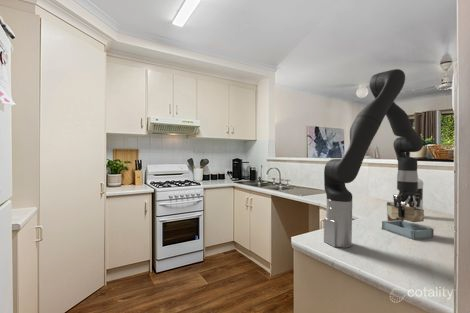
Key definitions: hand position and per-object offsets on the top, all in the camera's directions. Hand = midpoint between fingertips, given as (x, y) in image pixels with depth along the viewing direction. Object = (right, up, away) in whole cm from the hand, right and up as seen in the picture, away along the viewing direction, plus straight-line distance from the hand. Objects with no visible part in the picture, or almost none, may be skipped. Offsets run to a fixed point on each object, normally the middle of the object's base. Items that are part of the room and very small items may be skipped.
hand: (406, 216), depth 102 cm
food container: (+8, -8, +16) cm, 19 cm away
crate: (0, -7, 0) cm, 7 cm away
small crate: (0, -1, 0) cm, 1 cm away
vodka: (+28, -8, +31) cm, 43 cm away
